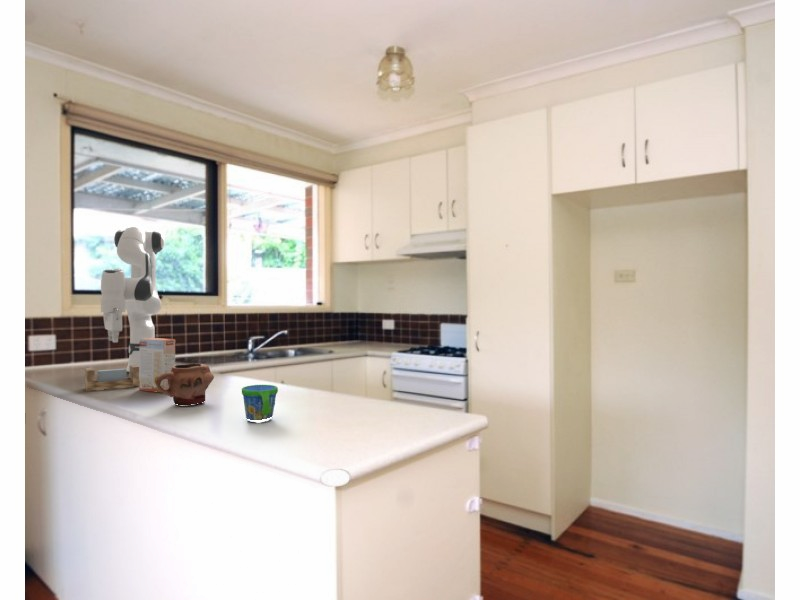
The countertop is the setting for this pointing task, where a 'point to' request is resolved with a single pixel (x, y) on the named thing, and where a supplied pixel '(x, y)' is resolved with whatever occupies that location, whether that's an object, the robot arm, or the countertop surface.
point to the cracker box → (155, 362)
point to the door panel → (111, 375)
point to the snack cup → (259, 401)
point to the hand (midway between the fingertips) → (113, 341)
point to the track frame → (96, 385)
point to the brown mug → (187, 383)
